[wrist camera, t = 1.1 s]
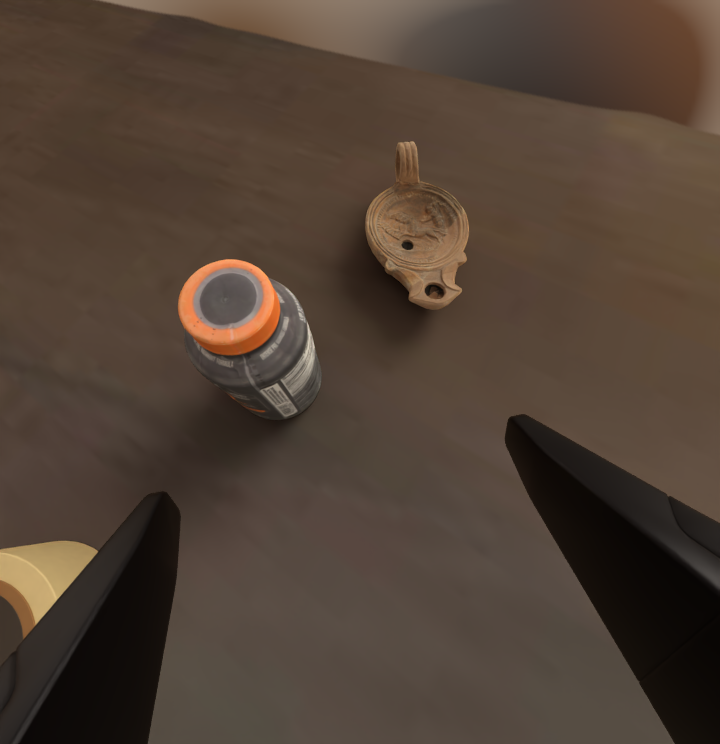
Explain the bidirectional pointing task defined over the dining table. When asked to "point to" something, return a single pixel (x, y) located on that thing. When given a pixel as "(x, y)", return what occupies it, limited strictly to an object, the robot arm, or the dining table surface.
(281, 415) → the pill bottle
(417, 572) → the dining table surface
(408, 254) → the oil lamp
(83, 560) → the tape roll
